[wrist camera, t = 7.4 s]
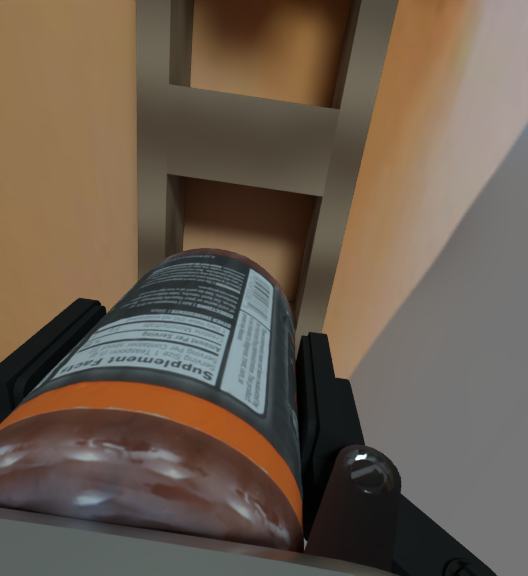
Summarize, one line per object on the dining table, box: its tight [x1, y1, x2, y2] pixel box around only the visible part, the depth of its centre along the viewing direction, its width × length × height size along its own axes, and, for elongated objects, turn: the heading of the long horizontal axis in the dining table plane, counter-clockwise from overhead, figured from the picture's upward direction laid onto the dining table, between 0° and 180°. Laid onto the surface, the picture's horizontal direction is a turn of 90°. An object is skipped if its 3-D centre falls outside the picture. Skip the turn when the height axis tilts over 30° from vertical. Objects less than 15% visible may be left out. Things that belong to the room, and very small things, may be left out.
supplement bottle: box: [0, 248, 304, 553], centre depth 9 cm, size 6×6×11 cm
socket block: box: [136, 0, 398, 359], centre depth 18 cm, size 26×11×7 cm, turn 172°
